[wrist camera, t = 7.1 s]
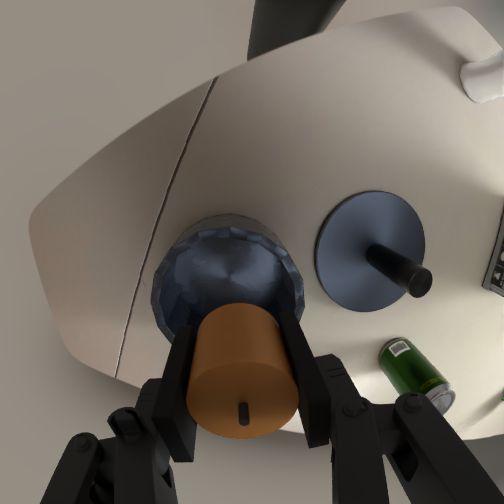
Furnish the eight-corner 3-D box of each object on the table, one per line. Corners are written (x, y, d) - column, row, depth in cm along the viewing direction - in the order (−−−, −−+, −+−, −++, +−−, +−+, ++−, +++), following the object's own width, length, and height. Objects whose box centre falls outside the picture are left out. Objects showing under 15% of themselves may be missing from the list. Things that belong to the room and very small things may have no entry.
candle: (188, 308, 15) (167, 384, 9) (276, 296, 15) (302, 367, 9) (206, 377, 16) (199, 459, 10) (284, 366, 16) (306, 446, 10)
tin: (157, 225, 29) (135, 241, 22) (281, 206, 30) (296, 216, 23) (183, 333, 33) (172, 373, 26) (293, 318, 33) (308, 355, 26)
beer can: (372, 352, 35) (413, 411, 24) (404, 329, 35) (454, 380, 23) (383, 375, 37) (421, 431, 25) (414, 353, 36) (458, 404, 25)
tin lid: (308, 197, 30) (343, 209, 20) (418, 186, 30) (477, 195, 20) (317, 318, 33) (347, 370, 24) (417, 295, 34) (464, 331, 24)
